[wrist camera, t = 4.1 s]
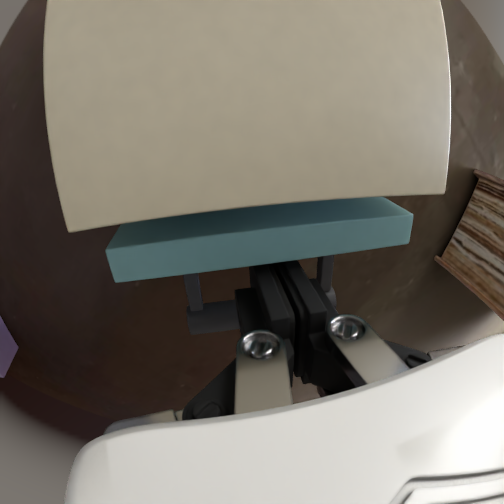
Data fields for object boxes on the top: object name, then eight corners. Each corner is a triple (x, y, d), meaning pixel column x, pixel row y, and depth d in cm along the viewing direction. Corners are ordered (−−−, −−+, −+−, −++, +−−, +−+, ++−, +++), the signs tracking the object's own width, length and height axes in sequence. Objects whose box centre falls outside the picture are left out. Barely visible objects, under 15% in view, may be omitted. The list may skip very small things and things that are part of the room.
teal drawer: (325, 260, 19) (384, 339, 12) (165, 281, 18) (153, 380, 11) (320, -9, 11) (396, -63, 4) (132, -4, 10) (89, -73, 3)
